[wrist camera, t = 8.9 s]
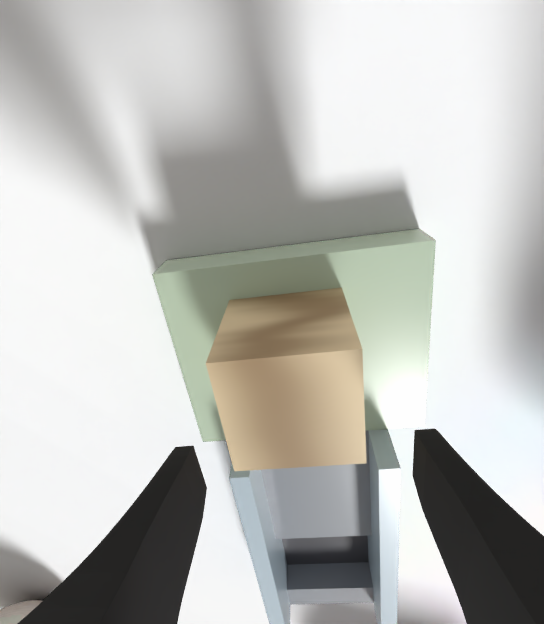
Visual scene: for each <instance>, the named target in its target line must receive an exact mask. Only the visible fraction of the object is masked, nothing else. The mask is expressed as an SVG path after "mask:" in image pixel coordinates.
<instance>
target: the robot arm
mask: <svg viewBox="0 0 544 624" xmlns="http://www.w3.org/2000/svg"><path fill="white" fill-rule="evenodd" d="M413 478H414V482H415V485H416V489H417V492H418V496H419V499H420V503H421V506H422V509H423V512H424V514H425V517H426V519H427V522H428V524H429V527H430V529H431V532H432V534H433V537H434V539H435V542H436V544H437V547H438V549H439V551H440V554H441V556H442V559H443V561H444V564H445V566H446V569H447V571H448V574H449V576H450V578H451V581H452V583H453V586H454V588H455V591H456V593H457V596H458V599H459V602H460V604H461V607H462V610H463V613H464V616H465V619H466V622H467V624H544V536H543V535H542V534H541V533H539V532H538V531H537V530H536V529H535V528H534V527H532V526H531V525H530V524H529V523H528V522H527V521H526V520H525V519H523V518H522V517H521V516H520V515H519V514H518V513H517V512H516V511H515V510H514V509H513V508H511V507H510V506H509V505H508V504H507V503H506V502H505V501H504V500H503V499H502V498H501V497H500V496H499V495H498V494H497V493H496V492H495V491H494V490H493V489H492V488H491V487H490V486H489V485H488V484H487V483H486V482H485V481H484V480H483V479H482V478H481V477H480V476H479V475H478V474H477V473H476V472H475V471H474V470H473V469H472V468H471V467H470V466H469V465H468V464H467V463H466V462H465V461H464V460H463V459H462V457H461V456H460V455H459V454H458V453H457V452H456V451H455V450H454V449H453V448H452V447H451V445H450V444H449V443H448V442H447V441H446V440H445V439H444V437H443V436H442V435H441V434H440V433H439V432H438V431H437V430H436V429H424V430H415V436H414V458H413ZM206 489H207V487H206V484H205V481H204V477H203V474H202V471H201V468H200V465H199V462H198V459H197V456H196V453H195V450H194V446H183V447H175V449H174V450H173V451H172V452H171V454H170V455H169V456H168V458H167V459H166V461H165V462H164V463H163V465H162V466H161V467H160V469H159V470H158V472H157V473H156V474H155V476H154V477H153V478H152V480H151V481H150V482H149V484H148V485H147V486H146V488H145V489H144V490H143V491H142V493H141V494H140V495H139V497H138V498H137V499H136V501H135V502H134V503H133V504H132V506H131V507H130V508H129V509H128V511H127V512H126V513H125V514H124V516H123V517H122V518H121V519H120V520H119V522H118V523H117V524H116V525H115V526H114V528H113V529H112V530H111V531H110V532H109V533H108V535H107V536H106V537H105V538H104V539H103V540H102V541H101V543H100V544H99V545H98V546H97V547H96V548H95V549H94V550H93V551H92V552H91V554H90V555H89V556H88V557H87V558H86V559H85V560H84V561H83V562H82V563H81V564H80V565H79V566H78V567H77V568H76V569H75V570H74V571H73V572H72V573H71V574H70V575H69V576H68V577H67V578H66V579H65V580H64V581H63V582H62V583H61V584H60V585H59V586H58V587H57V588H56V589H55V590H54V591H53V592H52V593H51V594H49V595H48V596H47V597H46V598H45V599H44V600H43V601H42V602H41V603H40V604H39V605H38V606H37V607H36V608H34V609H33V610H32V611H31V612H30V613H29V614H28V615H27V616H25V617H24V618H23V619H22V620H21V621H20V622H19V623H17V624H177V622H178V616H179V611H180V607H181V602H182V598H183V594H184V590H185V586H186V582H187V578H188V574H189V570H190V566H191V563H192V559H193V555H194V551H195V547H196V543H197V539H198V535H199V531H200V527H201V523H202V518H203V511H204V505H205V497H206Z"/></svg>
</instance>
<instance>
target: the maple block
mask: <svg viewBox="0 0 544 624" xmlns="http://www.w3.org/2000/svg"><path fill="white" fill-rule="evenodd" d="M206 367H207V370H208V374H209V378H210V382H211V386H212V389H213V393H214V397H215V401H216V404H217V408H218V412H219V416H220V419H221V423H222V427H223V431H224V435H225V438H226V442H227V446H228V450H229V453H230V457H231V461H232V465H233V468H234V471H248V470H265V469H282V468H298V467H315V466H332V465H348V464H365V463H367V462H366V435H365V407H364V380H363V353H362V346H361V343H360V340H359V337H358V334H357V331H356V328H355V325H354V323H353V320H352V317H351V314H350V311H349V308H348V305H347V302H346V299H345V296H344V293H343V290H342V288H333V289H324V290H315V291H306V292H297V293H288V294H279V295H270V296H261V297H252V298H243V299H234V300H229V302H228V305H227V308H226V310H225V313H224V316H223V318H222V321H221V324H220V326H219V329H218V332H217V334H216V337H215V340H214V342H213V345H212V348H211V350H210V353H209V356H208V358H207V361H206Z"/></svg>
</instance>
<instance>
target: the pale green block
mask: <svg viewBox="0 0 544 624" xmlns="http://www.w3.org/2000/svg"><path fill="white" fill-rule="evenodd" d="M435 241H436V240H435V239H433V238H432V237H430V236H429V235H428V234H426V233H425V232H423V231H422V230H421V229H413V230H405V231H397V232H389V233H381V234H373V235H365V236H357V237H349V238H341V239H333V240H325V241H317V242H309V243H301V244H293V245H285V246H277V247H269V248H261V249H253V250H245V251H237V252H229V253H221V254H213V255H205V256H197V257H189V258H181V259H173V260H166V261H165V262H164V263H163V264H162V265H161V266H160V267H159V268H158V269H157V270H156V271H155V272H154V273H153V274H152V275H153V279H154V282H155V285H156V289H157V292H158V295H159V298H160V302H161V305H162V308H163V312H164V315H165V318H166V322H167V325H168V328H169V331H170V335H171V338H172V341H173V345H174V348H175V351H176V355H177V358H178V361H179V364H180V368H181V371H182V374H183V378H184V381H185V384H186V388H187V391H188V394H189V397H190V401H191V404H192V407H193V411H194V414H195V417H196V420H197V424H198V427H199V430H200V434H201V437H202V440H203V442H208V441H223V440H226V438H225V435H224V431H223V427H222V423H221V419H220V416H219V412H218V408H217V404H216V401H215V397H214V393H213V389H212V386H211V382H210V378H209V374H208V370H207V367H206V361H207V358H208V356H209V353H210V350H211V348H212V345H213V342H214V340H215V337H216V334H217V332H218V329H219V326H220V324H221V321H222V318H223V316H224V313H225V310H226V308H227V305H228V302H229V300H234V299H243V298H252V297H261V296H270V295H279V294H288V293H297V292H306V291H315V290H324V289H333V288H342V290H343V293H344V296H345V299H346V302H347V305H348V308H349V311H350V314H351V317H352V320H353V323H354V325H355V328H356V331H357V334H358V337H359V340H360V343H361V346H362V353H363V380H364V407H365V435H366V462H367V463H365V464H348V465H332V466H315V467H298V468H282V469H265V470H248V471H234V468H233V465H232V466H231V471H230V477H229V479H230V483H231V486H232V490H233V494H234V497H235V501H236V504H237V508H238V512H239V515H240V519H241V523H242V526H243V530H244V533H245V537H246V541H247V544H248V548H249V551H250V555H251V559H252V562H253V566H254V570H255V573H256V577H257V580H258V584H259V588H260V591H261V595H262V598H263V602H264V606H265V609H266V613H267V617H268V620H269V624H290V604H337V603H374V607H375V613H376V618H377V624H397V605H398V559H399V514H400V465H399V462H398V459H397V456H396V453H395V450H394V447H393V444H392V441H391V438H390V435H389V432H388V429H396V428H410V427H425V410H426V393H427V376H428V360H429V343H430V326H431V309H432V292H433V275H434V258H435Z"/></svg>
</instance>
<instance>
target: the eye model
mask: <svg viewBox="0 0 544 624" xmlns="http://www.w3.org/2000/svg"><path fill="white" fill-rule="evenodd" d="M41 602H42V601H41V600H30V601H24V602H19V603H15V604H12V605H10V606H7V607H5V608H3V609H1V610H0V624H17V623H19V622H20V621H21V620H22V619H23V618H24V617H25V616H27V615H28V614H29V613H30V612H31V611H32V610H33V609H34V608H36V607H37V606H38V605H39V604H40V603H41Z"/></svg>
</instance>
